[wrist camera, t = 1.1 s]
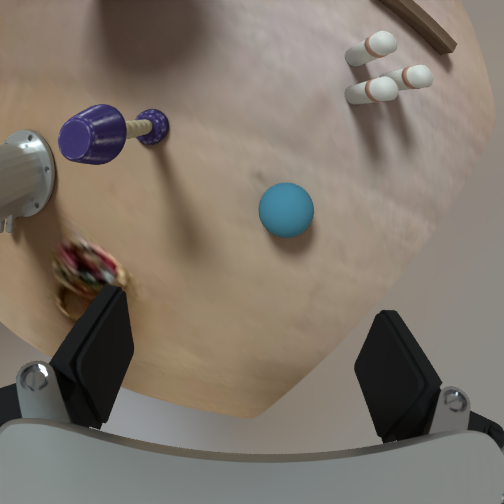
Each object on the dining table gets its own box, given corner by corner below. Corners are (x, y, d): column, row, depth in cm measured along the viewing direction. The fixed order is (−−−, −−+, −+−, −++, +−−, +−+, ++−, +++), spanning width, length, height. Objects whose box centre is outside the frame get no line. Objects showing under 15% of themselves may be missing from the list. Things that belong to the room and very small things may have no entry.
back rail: (440, 55, 25) (453, 52, 23) (361, -13, 22) (370, -21, 19) (444, 46, 25) (457, 44, 22) (367, -20, 21) (376, -28, 18)
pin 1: (357, 71, 27) (391, 58, 19) (340, 58, 27) (370, 41, 19) (367, 57, 26) (401, 42, 19) (350, 44, 26) (381, 25, 18)
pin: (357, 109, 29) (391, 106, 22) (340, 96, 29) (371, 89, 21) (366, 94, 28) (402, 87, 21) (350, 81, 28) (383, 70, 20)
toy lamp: (167, 149, 31) (103, 173, 15) (130, 148, 30) (47, 173, 15) (170, 109, 29) (107, 96, 14) (132, 109, 28) (49, 104, 13)
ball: (289, 235, 36) (298, 256, 30) (247, 211, 34) (249, 228, 29) (316, 195, 34) (331, 209, 28) (274, 168, 32) (282, 177, 27)
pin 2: (388, 96, 28) (427, 92, 21) (373, 83, 28) (410, 75, 20) (397, 82, 28) (436, 76, 20) (382, 70, 27) (419, 59, 19)
